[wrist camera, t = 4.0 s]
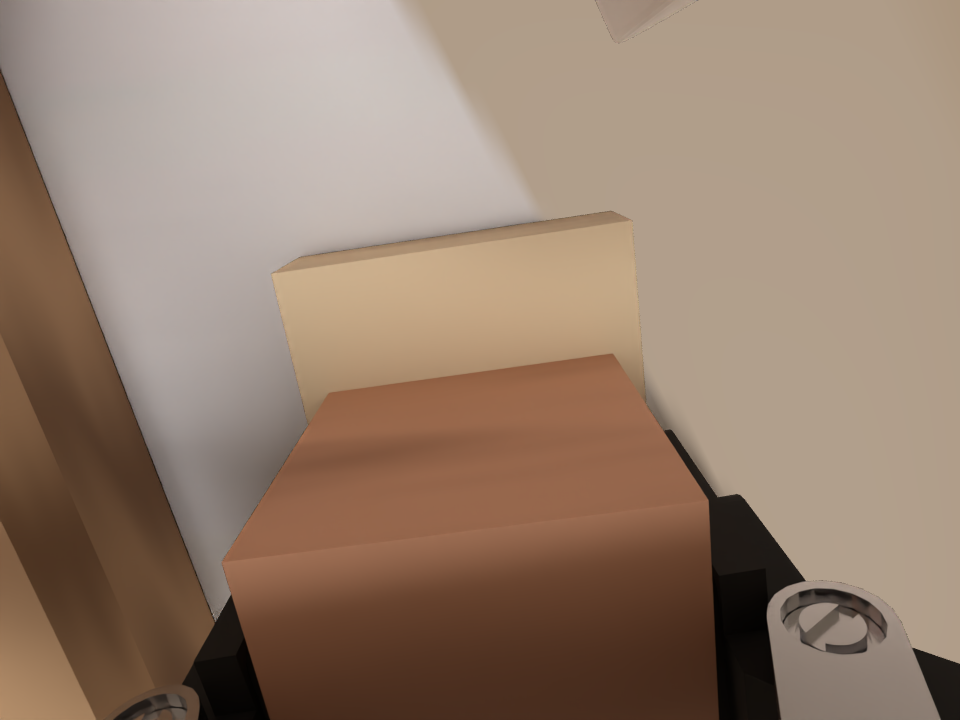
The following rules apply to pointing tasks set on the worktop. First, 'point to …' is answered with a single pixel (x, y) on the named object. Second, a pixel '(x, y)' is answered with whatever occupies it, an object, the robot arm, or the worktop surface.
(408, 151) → the worktop surface
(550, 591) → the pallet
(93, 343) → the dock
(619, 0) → the milk carton
